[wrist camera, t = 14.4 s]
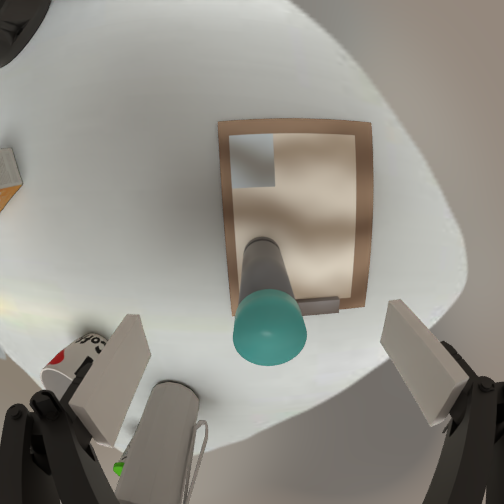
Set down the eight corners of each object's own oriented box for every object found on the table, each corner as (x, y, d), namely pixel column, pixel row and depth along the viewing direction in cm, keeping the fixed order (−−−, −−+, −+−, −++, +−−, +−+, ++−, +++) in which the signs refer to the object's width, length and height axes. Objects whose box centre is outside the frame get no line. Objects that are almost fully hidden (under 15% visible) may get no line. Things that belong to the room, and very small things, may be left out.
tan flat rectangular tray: (218, 122, 24) (216, 119, 22) (368, 123, 24) (375, 121, 22) (232, 313, 30) (231, 321, 28) (362, 304, 30) (367, 311, 28)
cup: (121, 332, 31) (86, 382, 21) (127, 376, 33) (102, 425, 24) (71, 317, 31) (32, 359, 21) (81, 361, 33) (51, 404, 23)
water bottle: (162, 411, 36) (123, 548, 12) (144, 376, 33) (83, 530, 9) (219, 412, 35) (202, 565, 11) (206, 376, 33) (175, 558, 9)
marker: (241, 236, 26) (229, 308, 13) (280, 234, 26) (308, 303, 13) (243, 273, 28) (236, 367, 14) (281, 271, 27) (305, 363, 14)
